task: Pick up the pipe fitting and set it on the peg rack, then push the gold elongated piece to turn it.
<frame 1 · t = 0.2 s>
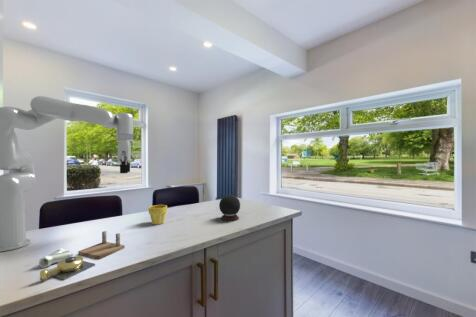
hand: (125, 172, 109), 31 cm above the worktop, tool pointing down, fingers open, 9 cm apart
peg rack: (102, 251, 89), on the worktop
pipe fitting: (57, 263, 80), on the worktop
nut base: (70, 269, 74), on the worktop
plant pot: (158, 223, 128), on the worktop
gold elongated piece: (62, 266, 72), point 2 cm above the worktop, hinge at 0.0°
black round ball: (229, 219, 137), on the worktop
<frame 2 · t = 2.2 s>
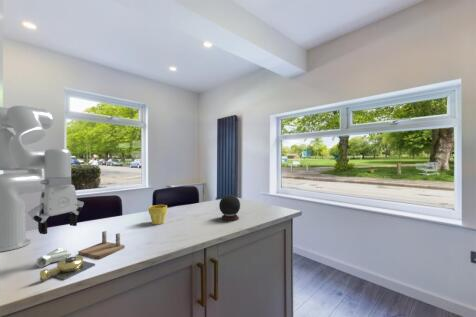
hand: (59, 229, 80), 12 cm above the worktop, tool pointing down, fingers open, 9 cm apart
pipe fitting: (55, 262, 80), on the worktop
everything else where it was.
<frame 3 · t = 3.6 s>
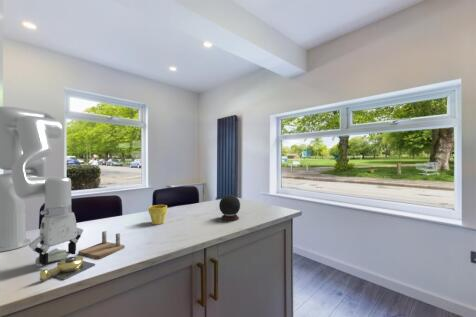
hand: (58, 258, 80), 1 cm above the worktop, tool pointing down, fingers closed on pipe fitting, 8 cm apart
pipe fitting: (54, 262, 80), on the worktop, touching gripper
everything else where it was.
when the fingers open (4 cm above the worktop, at t = 8.2 s): pipe fitting drops 1 cm, resting on peg rack.
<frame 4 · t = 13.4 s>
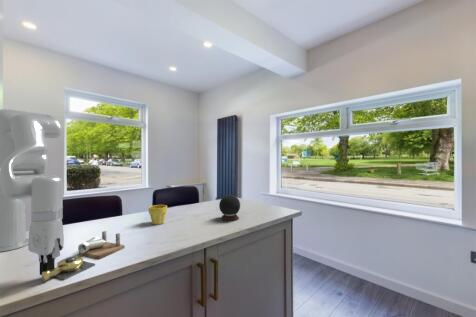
hand: (47, 273, 69), 1 cm above the worktop, tool pointing down, fingers closed
pipe fitting: (93, 249, 88), point 1 cm above the worktop, touching peg rack
gold elongated piece: (63, 266, 72), point 2 cm above the worktop, hinge at 7.0°, touching gripper
everything else where it was.
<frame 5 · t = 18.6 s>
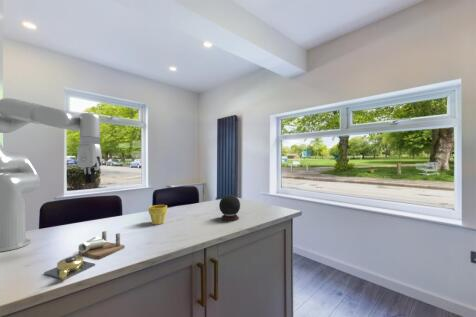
hand: (90, 182, 97), 27 cm above the worktop, tool pointing down, fingers closed
gold elongated piece: (68, 266, 72), point 2 cm above the worktop, hinge at 45.0°
everything else where it was.
at the end: pipe fitting 2.9 cm from the peg rack (horizontally); pipe fitting touching peg rack; gold elongated piece at +45° (first picture: +0°) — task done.
